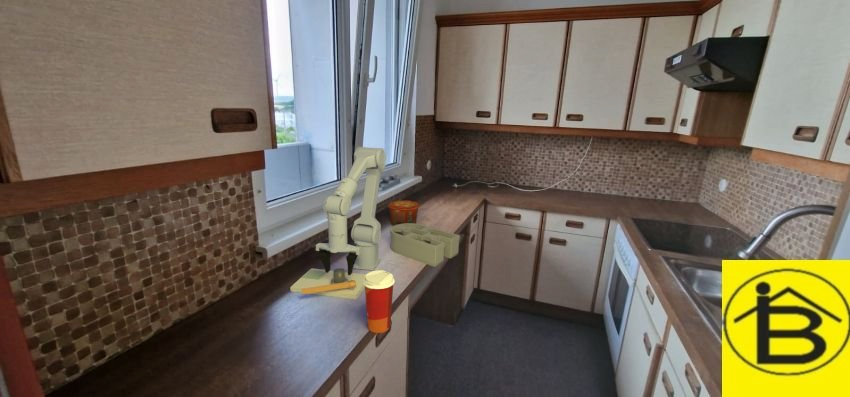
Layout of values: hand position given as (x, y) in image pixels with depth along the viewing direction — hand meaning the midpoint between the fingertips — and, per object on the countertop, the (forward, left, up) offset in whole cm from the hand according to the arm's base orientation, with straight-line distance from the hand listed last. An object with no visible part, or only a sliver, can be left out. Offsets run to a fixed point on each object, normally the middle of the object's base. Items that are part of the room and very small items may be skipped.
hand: (339, 272), depth 115 cm
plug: (0, 0, -5) cm, 5 cm away
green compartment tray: (-36, +20, -6) cm, 42 cm away
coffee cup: (+18, +19, -6) cm, 27 cm away
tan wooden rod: (+6, 0, -3) cm, 7 cm away
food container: (-70, +5, -6) cm, 70 cm away
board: (-1, -3, -5) cm, 6 cm away
